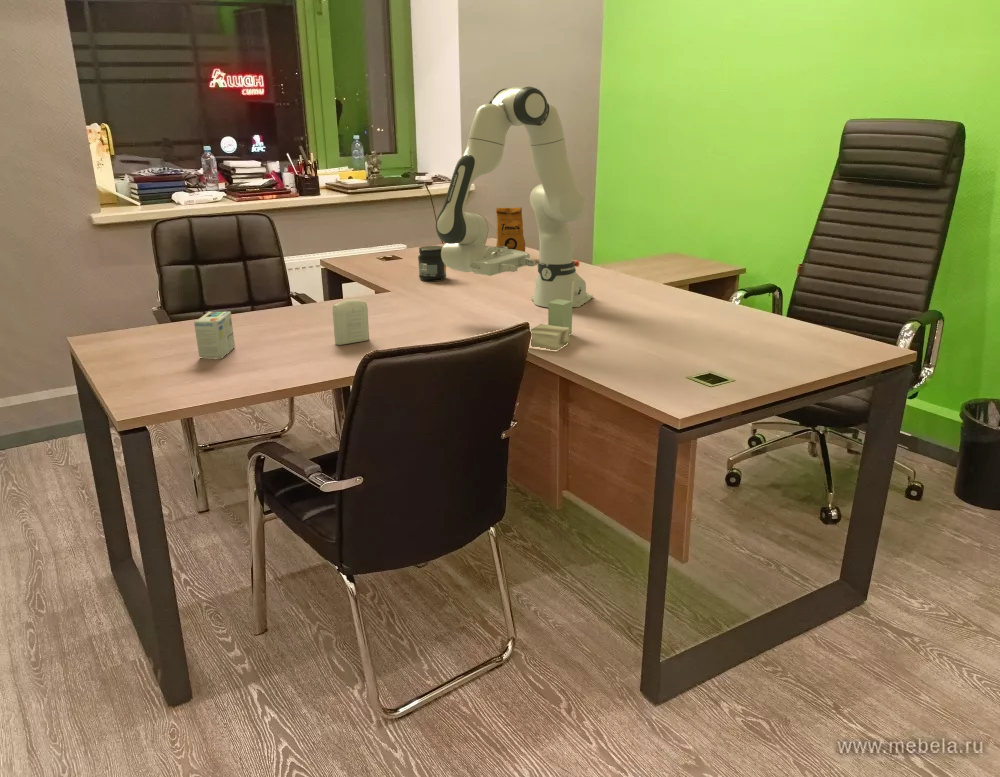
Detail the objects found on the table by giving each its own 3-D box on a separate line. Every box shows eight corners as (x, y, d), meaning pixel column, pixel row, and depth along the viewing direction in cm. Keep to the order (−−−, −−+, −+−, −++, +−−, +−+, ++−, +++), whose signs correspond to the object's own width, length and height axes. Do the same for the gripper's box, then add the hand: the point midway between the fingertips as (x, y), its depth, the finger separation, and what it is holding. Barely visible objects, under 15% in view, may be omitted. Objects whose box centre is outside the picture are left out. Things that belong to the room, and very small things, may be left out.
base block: (540, 340, 235) (540, 324, 233) (569, 344, 231) (569, 327, 229) (526, 349, 227) (526, 331, 226) (556, 353, 224) (556, 335, 222)
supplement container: (446, 275, 317) (445, 244, 312) (446, 281, 307) (445, 250, 302) (419, 276, 316) (418, 245, 312) (418, 282, 306) (416, 250, 302)
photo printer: (365, 337, 239) (362, 295, 235) (371, 340, 236) (369, 298, 232) (332, 343, 234) (329, 301, 230) (338, 346, 231) (335, 304, 226)
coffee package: (525, 262, 339) (525, 208, 332) (495, 262, 340) (494, 208, 332) (525, 257, 349) (525, 205, 341) (496, 257, 349) (495, 205, 341)
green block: (557, 331, 242) (557, 299, 239) (571, 334, 240) (572, 301, 236) (548, 335, 239) (548, 302, 235) (562, 338, 236) (563, 304, 232)
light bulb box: (212, 347, 231) (207, 310, 227) (236, 347, 231) (231, 310, 227) (198, 359, 221) (192, 321, 217) (223, 359, 221) (217, 321, 217)
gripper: (466, 255, 238) (504, 260, 230) (506, 245, 253) (544, 250, 246) (466, 276, 240) (504, 282, 232) (506, 265, 256) (543, 270, 248)
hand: (525, 265), depth 239 cm, fingers open, 8 cm apart
